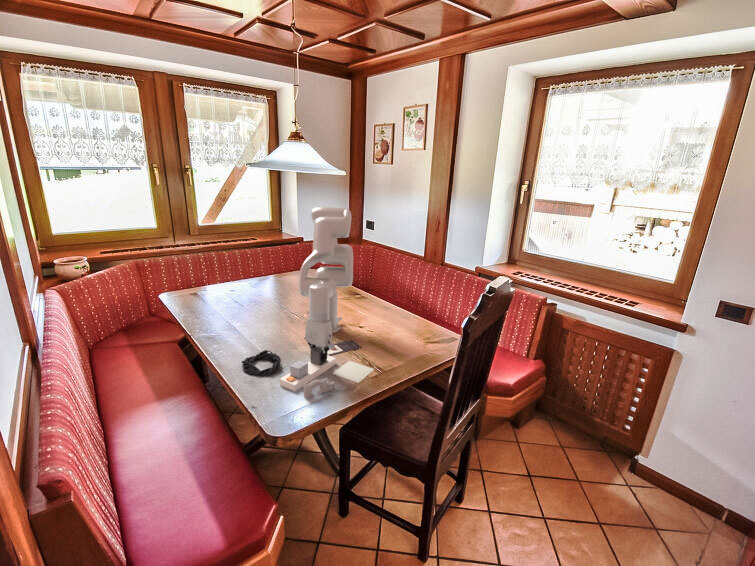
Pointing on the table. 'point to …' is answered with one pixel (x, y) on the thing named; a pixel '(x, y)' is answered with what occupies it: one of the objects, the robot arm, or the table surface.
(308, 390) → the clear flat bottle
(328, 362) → the long white plastic board
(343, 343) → the chocolate bar
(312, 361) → the grey rectangular block
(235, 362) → the table surface
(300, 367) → the grey plug
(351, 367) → the mat
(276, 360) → the cable
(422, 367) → the table surface
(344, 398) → the table surface
